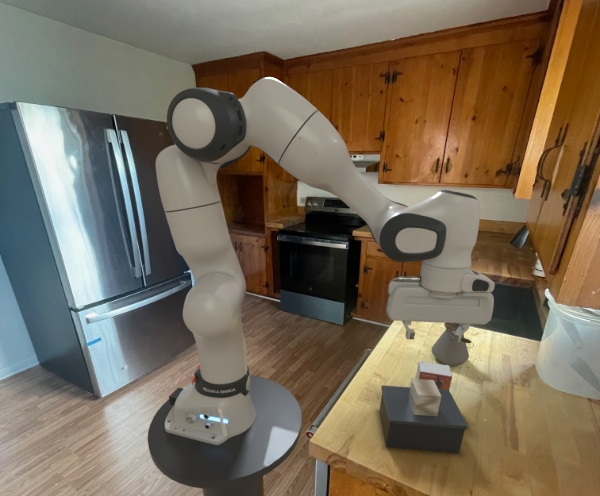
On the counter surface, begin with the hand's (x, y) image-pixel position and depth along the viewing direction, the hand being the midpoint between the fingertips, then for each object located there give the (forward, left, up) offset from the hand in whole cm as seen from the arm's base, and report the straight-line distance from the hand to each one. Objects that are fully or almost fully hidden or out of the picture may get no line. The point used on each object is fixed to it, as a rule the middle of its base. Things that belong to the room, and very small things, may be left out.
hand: (432, 339), depth 70 cm
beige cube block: (0, -1, -17) cm, 17 cm away
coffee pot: (+18, +30, -25) cm, 43 cm away
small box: (+6, +12, -25) cm, 29 cm away
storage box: (0, 0, -25) cm, 25 cm away
